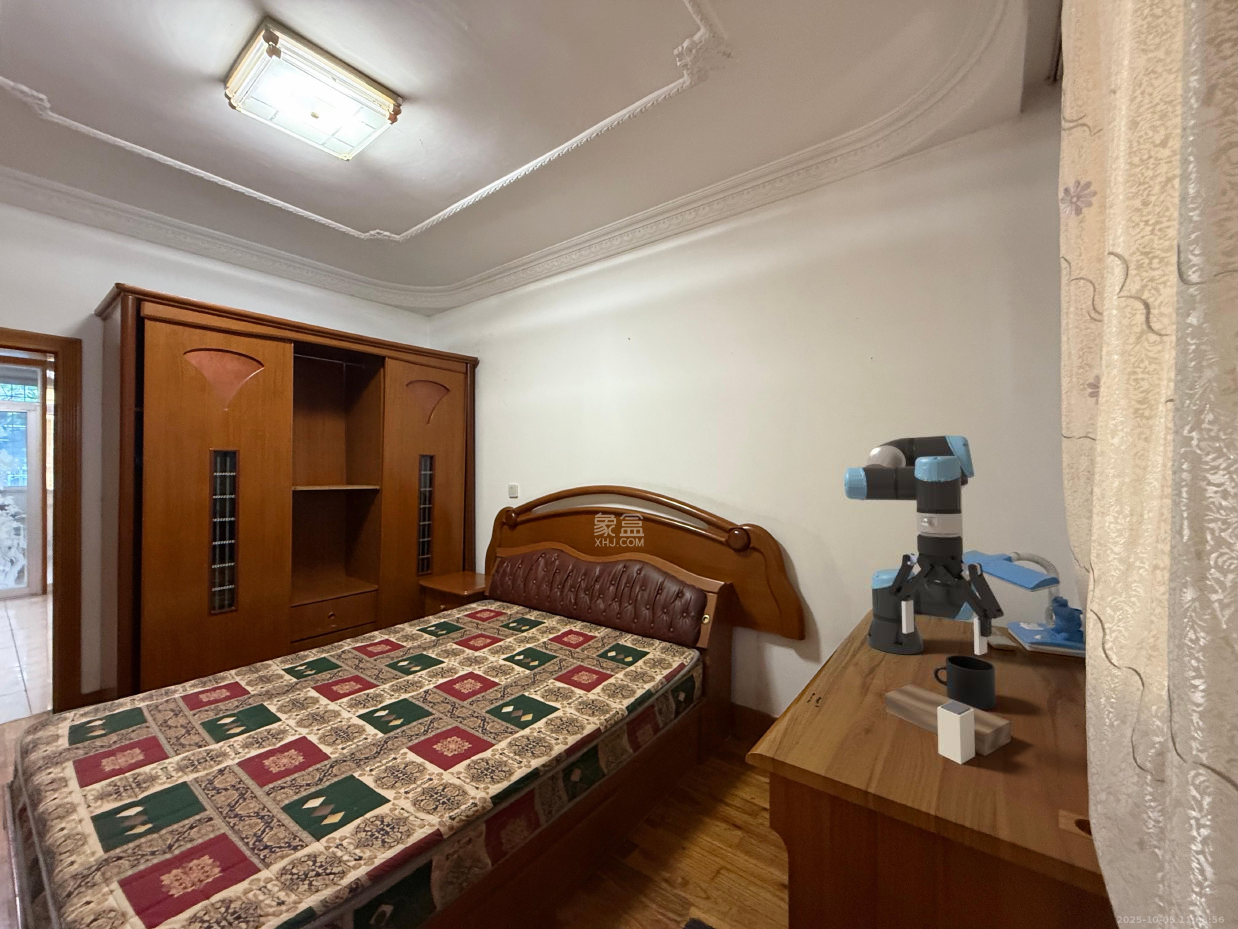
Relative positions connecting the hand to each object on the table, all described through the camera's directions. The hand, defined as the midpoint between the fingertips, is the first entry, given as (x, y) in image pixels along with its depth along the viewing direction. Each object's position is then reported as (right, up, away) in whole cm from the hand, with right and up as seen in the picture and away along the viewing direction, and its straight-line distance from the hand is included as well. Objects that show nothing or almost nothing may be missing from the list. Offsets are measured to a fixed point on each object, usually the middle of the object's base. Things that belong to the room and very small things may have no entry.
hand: (942, 642), depth 96 cm
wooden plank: (+7, -21, +9) cm, 24 cm away
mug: (+19, -21, +20) cm, 35 cm away
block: (+2, -22, -1) cm, 22 cm away
